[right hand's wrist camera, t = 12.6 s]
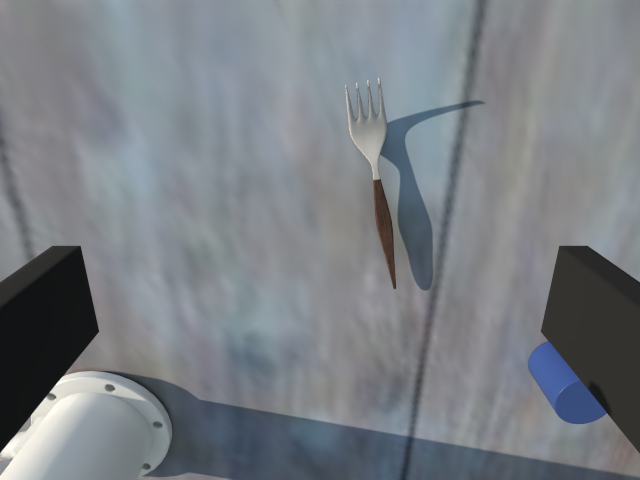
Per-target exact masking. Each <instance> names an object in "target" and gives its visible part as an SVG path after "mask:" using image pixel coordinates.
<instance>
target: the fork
mask: <svg viewBox="0 0 640 480" xmlns="http://www.w3.org/2000/svg"><path fill="white" fill-rule="evenodd" d="M378 80H379V114H378V115H376V114H375V112H374V108H373V102H372V96H371V91H370V85H369V81H368V106H369V115H368V117H365V115H364V112H363V107H362V102H361V97H360V92H359V87H358V83H357V101H358V119H355V118H354V115H353V111H352V107H351V102H350V98H349V94H348V89H347V85H345V87H346V98H347V109H348V119H349V130H350V134H351V137H352V139H353V141H354V143H355V144H356V146H357V147H358V148H359V150H360V151H361V152H362V153H363V154H364V155H365V156H366V158H367V159H368V160H369V162H370V164H371V166H372V169H373V179H374V200H375V216H376V224H377V229H378V233H379V237H380V240H381V243H382V247H383V250H384V254H385V257H386V261H387V264H388V268H389V272H390V276H391V280H392V284H393V288H394V289H396V279H395V265H394V246H393V228H392V221H391V216H390V212H389V208H388V204H387V201H386V197H385V194H384V190H383V187H382V183H381V179H380V176H379V171H378V159H379V156H380V153H381V150H382V147H383V145H384V142H385V138H386V134H387V120H386V115H385V109H384V103H383V96H382V89H381V83H380V78H378Z"/></svg>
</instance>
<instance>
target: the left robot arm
mask: <svg viewBox="0 0 640 480" xmlns="http://www.w3.org/2000/svg"><path fill="white" fill-rule="evenodd" d="M171 439H172V424H171V421H170V418H169V415H168V413H167V412H166V410H165V408H164V407H163V405H162V404H161V403H160V401H159V400H158V399H157V398H156V397H155V396H154V395H153V394H152V393H150V392H149V391H148V390H147V389H145V388H144V387H142V386H141V385H139V384H137V383H135V382H134V381H132V380H129V379H127V378H124V377H122V376H119V375H115V374H111V373H107V372H96V371H86V372H77V373H73V374H68V375H65V376H63V377H62V378H61V379H60V380H59V382H58V383H57V384H56V385H55V386H54V388H53V389H52V390H51V391H50V393H49V394H48V395H47V396H46V398H45V399H44V400H43V401H42V402H41V404H40V405H39V406H38V407H37V409H36V410H35V411H34V412H33V414H32V415H31V427H30V428H29V429H28V430H27V431H23V432H20V433H18V434H17V435H16V436H15V437H13V438H12V439H11V441H10V442H9V443H8V444H7V446H6V447H5V448H4V449H3V450H2V452H1V453H0V461H3V460H8V459H9V458H13V460H12V461H11V463H10V464H9V465H8V467H7V468H6V469H5V471H4V472H3V473H2V475H1V476H0V480H137V479H138V477H140V476H143V475H145V474H147V473H149V472H150V471H152V470H154V469H155V468H156V467H157V466H158V465H159V464H160V463H161V462H162V461H163V459H164V457H165V456H166V454H167V452H168V449H169V447H170V444H171Z"/></svg>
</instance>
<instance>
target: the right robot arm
mask: <svg viewBox="0 0 640 480" xmlns="http://www.w3.org/2000/svg"><path fill="white" fill-rule="evenodd" d="M98 332H99V329H98V324H97V320H96V315H95V310H94V306H93V301H92V297H91V292H90V287H89V283H88V278H87V274H86V269H85V264H84V260H83V255H82V250H81V246H52V247H50V248H49V249H47V250H46V251H45V252H43V253H42V254H40V255H39V256H37V257H36V258H35V259H33V260H32V261H30V262H29V263H27V264H26V265H24V266H23V267H22V268H20V269H19V270H17V271H16V272H14V273H13V274H12V275H10V276H9V277H7V278H6V279H4V280H3V281H2V282H0V453H1V452H2V450H3V449H4V448H5V447H6V446H7V444H8V443H9V442H10V441H11V439H12V438H13V437H14V436H15V434H16V433H17V432H18V431H19V430H20V428H21V427H22V426H23V425H24V423H25V422H26V421H27V420H28V418H29V417H30V416H31V415H32V414H33V412H34V411H35V410H36V409H37V407H38V406H39V405H40V404H41V402H42V401H43V400H44V399H45V398H46V396H47V395H48V394H49V393H50V391H51V390H52V389H53V388H54V386H55V385H56V384H57V383H58V382H59V380H60V379H61V378H62V377H63V375H64V374H65V373H66V372H67V370H68V369H69V368H70V367H71V365H72V364H73V363H74V362H75V361H76V359H77V358H78V357H79V356H80V354H81V353H82V352H83V351H84V349H85V348H86V347H87V346H88V345H89V343H90V342H91V341H92V340H93V338H94V337H95V336H96V335H97V333H98ZM541 332H542V333H543V335H544V336H545V337H546V338H547V340H548V341H549V342H550V343H551V345H552V346H553V347H554V348H555V349H556V351H557V352H558V353H559V354H560V356H561V357H562V358H563V359H564V361H565V362H566V363H567V364H568V365H569V367H570V368H571V369H572V370H573V372H574V373H575V374H576V375H577V377H578V378H579V379H580V380H581V382H582V383H583V384H584V385H585V386H586V388H587V389H588V390H589V391H590V393H591V394H592V395H593V396H594V398H595V399H596V400H597V401H598V402H599V404H600V405H601V406H602V407H603V409H604V410H605V411H606V412H607V414H608V415H609V416H610V417H611V418H612V420H613V421H614V422H615V423H616V425H617V426H618V427H619V428H620V430H621V431H622V432H623V433H624V434H625V436H626V437H627V438H628V439H629V441H630V442H631V443H632V444H633V446H634V447H635V448H636V449H637V450H638V452H639V453H640V282H638V281H637V280H636V279H634V278H633V277H631V276H630V275H628V274H627V273H626V272H624V271H623V270H621V269H620V268H618V267H617V266H616V265H614V264H613V263H611V262H610V261H608V260H607V259H605V258H604V257H603V256H601V255H600V254H598V253H597V252H595V251H594V250H593V249H591V248H590V247H588V246H559V250H558V255H557V260H556V264H555V269H554V274H553V278H552V283H551V287H550V292H549V297H548V301H547V306H546V310H545V315H544V320H543V324H542V329H541Z"/></svg>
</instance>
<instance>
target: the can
mask: <svg viewBox="0 0 640 480" xmlns="http://www.w3.org/2000/svg"><path fill="white" fill-rule="evenodd" d="M528 366H529V371H530V373H531V374H532V376H533V377H534V379H535V381H536V382H537V384H538V385H539V387H540V388H541V390H542V391H543V393H544V395H545V396H546V398H547V399H548V401H549V402H550V404H551V406H552V407H553V409H554V410H555V412H556V413H557V415H558V416H559V417H560V418H561V419H562V420H564V421H566V422H569V423H573V424H585V423H589V422H593V421H595V420H597V419H599V418H601V417H603V416H604V415H605V414H606V413H607V412H606V411H605V410H604V409H603V407H602V406H601V405H600V404H599V402H598V401H597V400H596V399H595V398H594V396H593V395H592V394H591V393H590V391H589V390H588V389H587V388H586V386H585V385H584V384H583V383H582V382H581V380H580V379H579V378H578V377H577V375H576V374H575V373H574V372H573V370H572V369H571V368H570V367H569V365H568V364H567V363H566V362H565V361H564V359H563V358H562V357H561V356H560V354H559V353H558V352H557V351H556V349H555V348H554V347H553V346H552V345H551V343H550V342H549V341H548V342H546V343H544V344H542V345H540V346H539V347H538V348H536V349H535V350H534V352H533V353H532V354H531V356H530V359H529V363H528Z"/></svg>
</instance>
